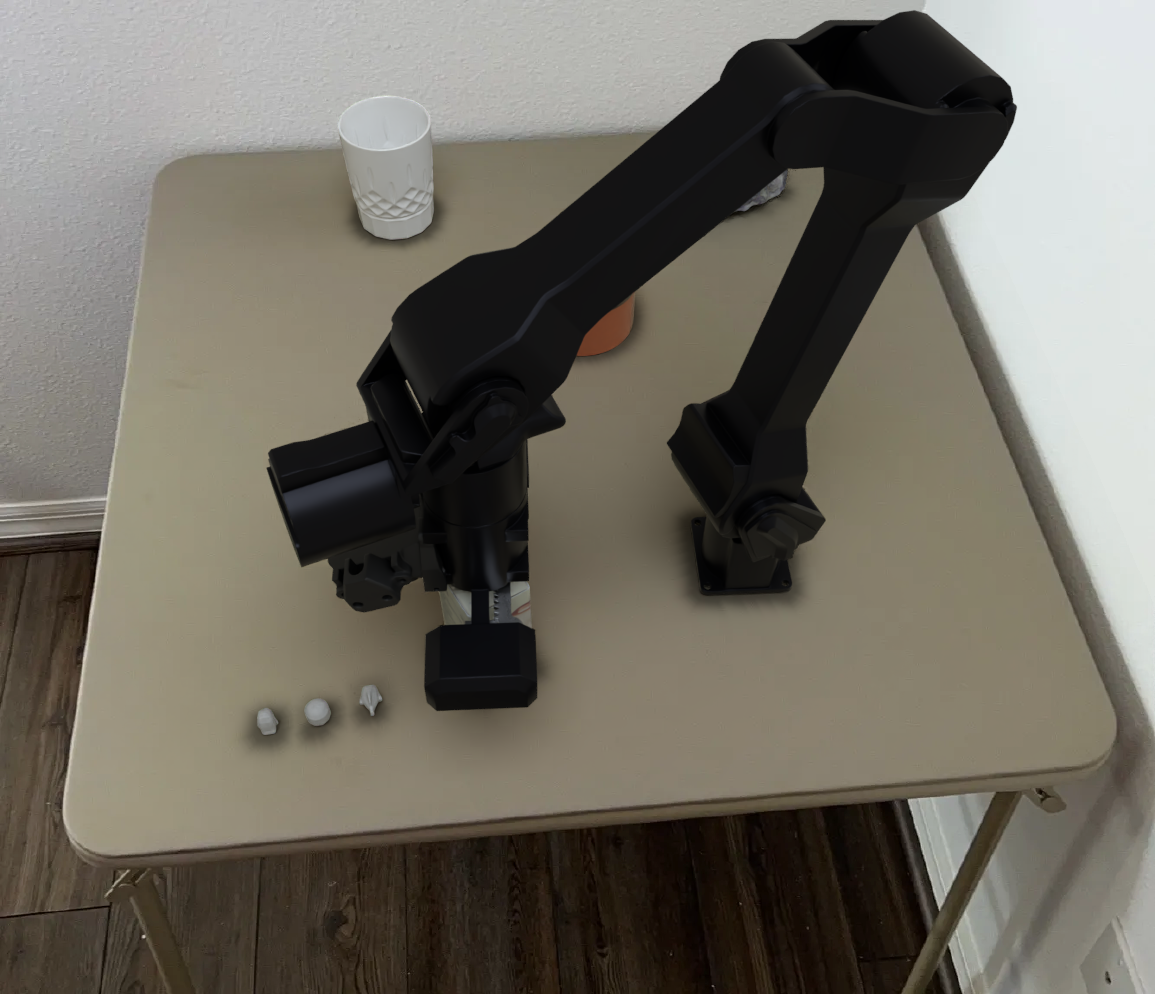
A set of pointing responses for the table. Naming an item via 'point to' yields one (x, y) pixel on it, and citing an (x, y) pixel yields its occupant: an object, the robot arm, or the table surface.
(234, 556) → the table surface
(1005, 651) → the table surface
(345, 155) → the white cup
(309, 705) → the game pieces
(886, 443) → the table surface
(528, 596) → the cream cardboard box
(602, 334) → the jar
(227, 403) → the table surface
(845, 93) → the robot arm
